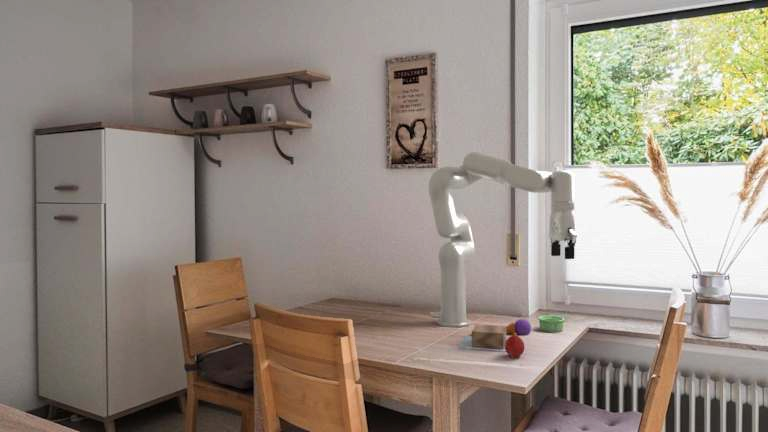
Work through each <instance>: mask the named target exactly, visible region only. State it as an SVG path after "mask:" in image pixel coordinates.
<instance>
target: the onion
mask: <svg viewBox="0 0 768 432" xmlns="http://www.w3.org/2000/svg"><path fill="white" fill-rule="evenodd" d="M506 339H507V340H506V343H505V350H506V352H505V353H507V355H509V356H510V357H511V358H519V357H520V356H521V355H522V354H523V353H524V352H525V343H524V341H523V340H522V338H521V337H519V335H518V334H516V333H513V334H511V335H510V336H509V337H508V338H506Z"/></svg>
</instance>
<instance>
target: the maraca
mask: <svg viewBox="0 0 768 432" xmlns="http://www.w3.org/2000/svg"><path fill="white" fill-rule="evenodd" d="M531 331H532V325H531V323H530V322H529V321H528V320H527V319H524V318H521V319H517V320H516V321H515V322H511V323H509V324H507V326H506V334H510V335H513V333H516V334H517V335H518V336H519V335H522V336H526V335H529V334H530V333H531Z"/></svg>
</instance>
